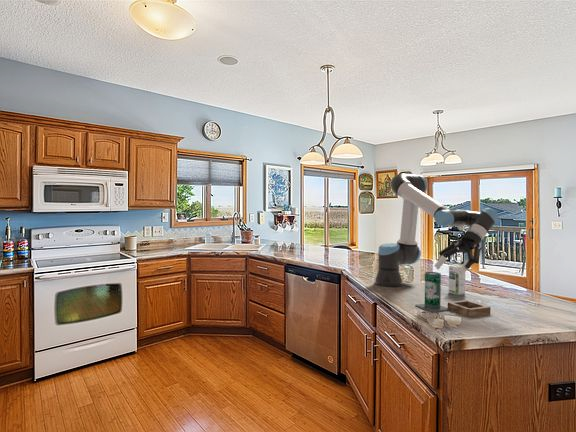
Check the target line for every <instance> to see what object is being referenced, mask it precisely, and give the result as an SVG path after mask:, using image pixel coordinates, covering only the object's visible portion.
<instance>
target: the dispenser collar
mask: <svg viewBox="0 0 576 432" xmlns="http://www.w3.org/2000/svg"><path fill="white" fill-rule="evenodd" d="M447 308H449V309H450V310H449V311H452V312H455V313H458V314H460V315H463V316H466V317H468V318H475V317H481V316H488V315H491V306H488V305H486V304H481V303H479V302H475V301H472V300H469V299H465V300H464V299H462V300H456V301H448V302H447Z"/></svg>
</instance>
